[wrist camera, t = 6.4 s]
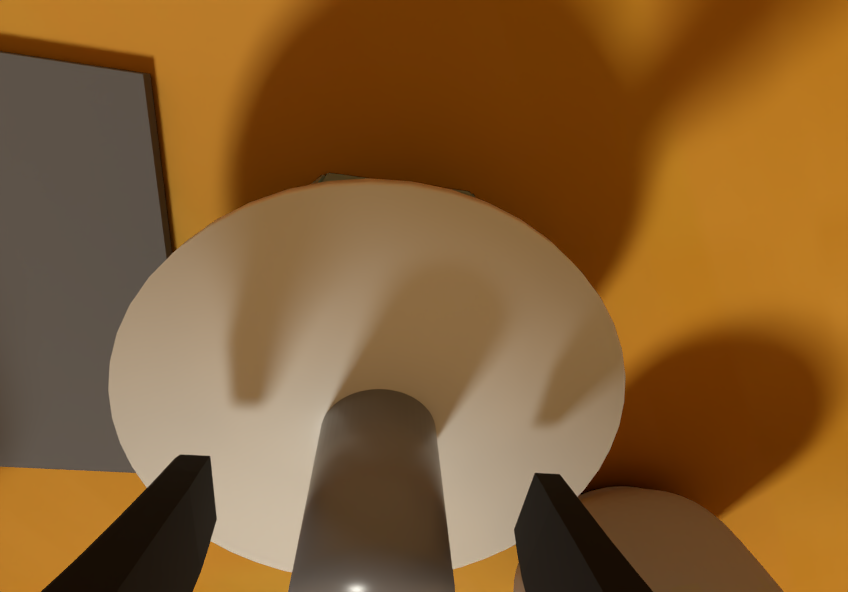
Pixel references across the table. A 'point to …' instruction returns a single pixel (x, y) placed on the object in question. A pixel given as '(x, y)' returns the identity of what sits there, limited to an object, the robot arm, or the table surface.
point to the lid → (368, 379)
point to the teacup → (673, 542)
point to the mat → (71, 251)
